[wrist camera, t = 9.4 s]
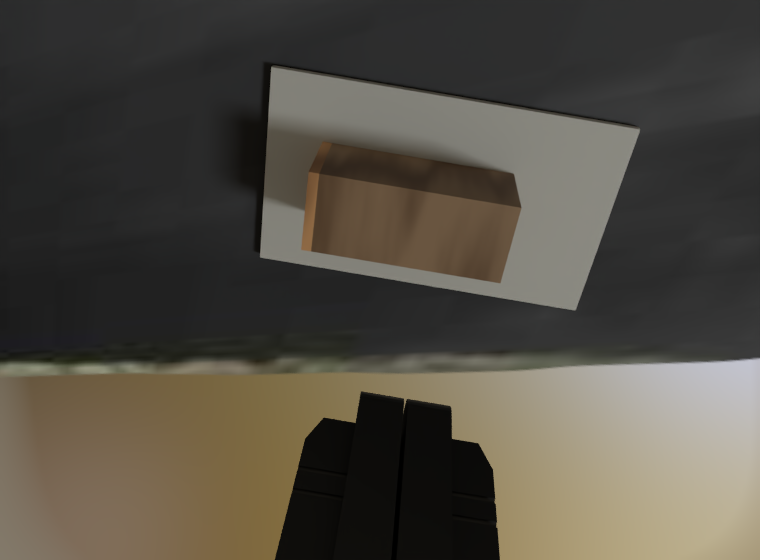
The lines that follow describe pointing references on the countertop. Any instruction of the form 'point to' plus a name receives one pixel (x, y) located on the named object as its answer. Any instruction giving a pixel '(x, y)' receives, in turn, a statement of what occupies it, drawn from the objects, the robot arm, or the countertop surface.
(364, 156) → the walnut block
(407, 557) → the robot arm
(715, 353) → the countertop surface
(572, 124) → the grey mat
